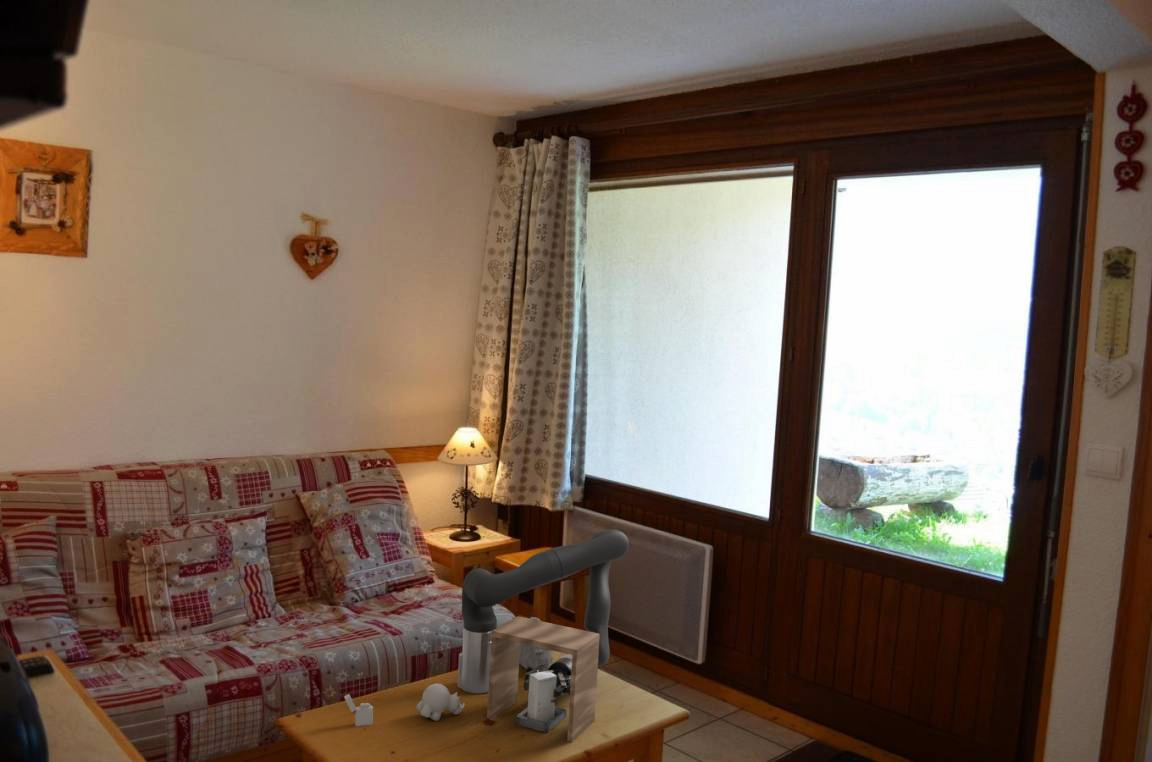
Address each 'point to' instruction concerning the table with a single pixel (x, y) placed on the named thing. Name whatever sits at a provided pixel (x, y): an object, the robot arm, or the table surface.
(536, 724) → the socket collar
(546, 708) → the skincare box
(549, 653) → the decorative rock
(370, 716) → the lighter
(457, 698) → the toy rhinoceros
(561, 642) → the wooden bench
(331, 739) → the table surface
